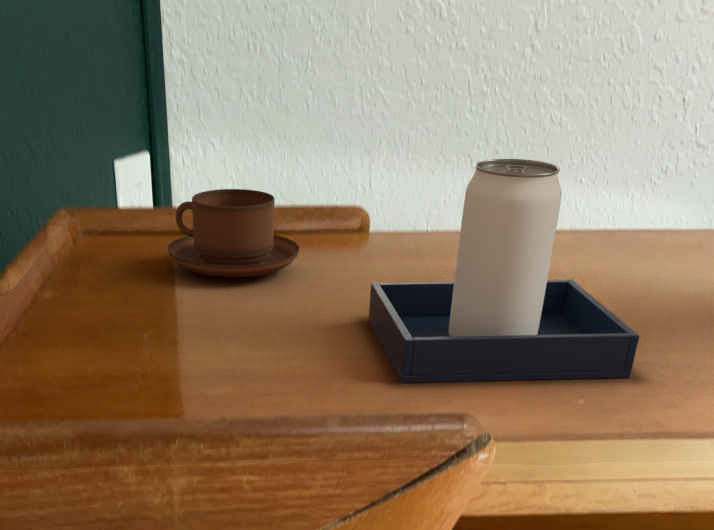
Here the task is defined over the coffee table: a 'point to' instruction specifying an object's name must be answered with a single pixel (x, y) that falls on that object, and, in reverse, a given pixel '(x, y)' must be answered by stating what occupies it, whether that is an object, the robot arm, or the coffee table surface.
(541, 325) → the tray
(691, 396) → the coffee table surface
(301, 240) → the coffee table surface
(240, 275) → the cup and saucer
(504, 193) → the can
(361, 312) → the coffee table surface
